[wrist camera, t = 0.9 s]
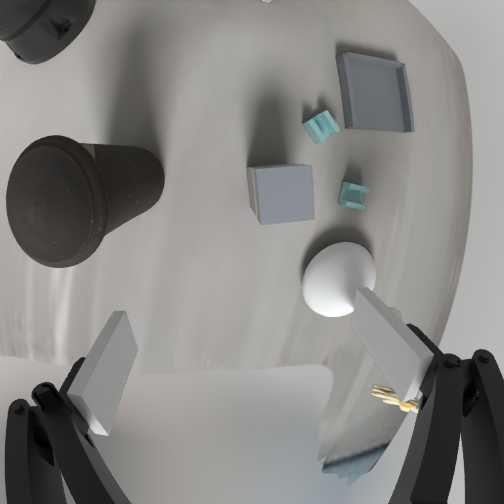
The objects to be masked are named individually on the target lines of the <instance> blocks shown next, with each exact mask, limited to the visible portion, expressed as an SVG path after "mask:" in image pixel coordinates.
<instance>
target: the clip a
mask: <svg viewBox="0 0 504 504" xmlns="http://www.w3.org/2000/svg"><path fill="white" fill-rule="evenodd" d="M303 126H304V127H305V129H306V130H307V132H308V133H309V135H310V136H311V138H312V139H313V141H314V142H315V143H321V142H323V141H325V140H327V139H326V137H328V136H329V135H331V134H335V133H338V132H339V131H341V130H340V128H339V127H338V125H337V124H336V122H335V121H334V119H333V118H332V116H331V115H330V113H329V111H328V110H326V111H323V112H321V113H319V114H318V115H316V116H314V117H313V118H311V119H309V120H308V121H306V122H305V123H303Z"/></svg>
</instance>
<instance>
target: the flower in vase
mask: <svg viewBox="0 0 504 504" xmlns="http://www.w3.org/2000/svg"><path fill="white" fill-rule="evenodd" d="M375 281H376V268H375V264H374V261H373V258H372V256H371V255H370V253H369V252H368V251H367V250H366V249H365V248H364V247H362V246H361V245H359V244H356V243H352V242H340V243H336V244H333V245H330V246H328V247H326V248H324V249H323V250H322V251H320V252H319V253H318V254H317V255H316V256H315V257H314V258H313V259H312V260H311V262H310V263H309V265H308V267H307V268H306V271H305V273H304V276H303V281H302V292H303V296H304V299H305V301H306V303H307V304H308V306H309V307H310V308H311V309H312V310H314V311H315V312H317V313H319V314H321V315H324V316H328V317H339V316H344V315H347V314H349V313H351V312H353V311H354V304H355V296H356V289H358V288H364V287H368V288H369V289H370V290H371V291H372V290H373V288H374V285H375ZM389 308H390V309H391V310H392V311H393V312H394V313H395V314H396V315H397V316H398V317H399V318H400V319H401V320H402V317H401V313H400V312H399V310H397V309H396V308H392V307H389ZM373 386H374V387H373V388H371V389H372V390H375V391H378V392H375V393H374V392H373V393H371V394H373V395H375V396H378V397H382V398H386V399H383V401H384V402H386V403H389V404H396V405H400V409H401V410H403V411H406V412H408V411H410V409H411V410H412V411H414V412H415V413H416V414H418V409H419V407H418V409H416V406H417V404H418V403H419V401H420V400H419V399H418V398H416V397H415V398H413V399H411V400H409V401H406V402H404V403H402V402H401V400H400V399H399V397H398V396H397V394H396V393H395V391H394V389H392V388H389V387H384V386H380V385H373Z"/></svg>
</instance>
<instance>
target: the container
mask: <svg viewBox="0 0 504 504" xmlns="http://www.w3.org/2000/svg"><path fill="white" fill-rule="evenodd" d="M163 188H164V173H163V169H162V167H161V164H160V163H159V161H158V160H157V158H156V157H155V156H154V155H153V154H152V153H150V152H149V151H147V150H145V149H142V148H138V147H132V146H119V145H103V144H86V143H78V142H76V141H75V140H73V139H70V138H68V137H64V136H59V135H53V136H47V137H43V138H41V139H38V140H36V141H35V142H33V143H32V144H30V145H29V146H28V147H27V148H26V149H25V150H24V151H23V152H22V153H21V155H20V156H19V158H18V159H17V161H16V163H15V164H14V166H13V169H12V171H11V174H10V177H9V181H8V186H7V193H6V209H7V216H8V221H9V224H10V227H11V230H12V233H13V235H14V237H15V239H16V241H17V243H18V244H19V246H20V247H21V248H22V250H23V251H24V252H25V253H26V254H27V255H28V256H29V257H31V258H32V259H33V260H35V261H36V262H38V263H40V264H42V265H45V266H48V267H53V268H65V267H71V266H74V265H77V264H79V263H81V262H83V261H84V260H86V259H87V258H88V257H90V256H91V255H92V254H93V253H94V252H95V251H96V249H97V248H98V247H99V245H100V244H101V242H102V240H103V238H104V236H105V235H106V234H108V233H109V232H111V231H113V230H114V229H116V228H118V227H119V226H121V225H122V224H124V223H126V222H127V221H129V220H131V219H132V218H134V217H136V216H138V215H140V214H141V213H143V212H145V211H147V210H148V209H150V208H151V207H152V206H153V205H155V204H156V202H157V201H158V200H159V198H160V196H161V194H162V192H163Z"/></svg>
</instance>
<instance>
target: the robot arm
mask: <svg viewBox="0 0 504 504" xmlns="http://www.w3.org/2000/svg"><path fill="white" fill-rule="evenodd" d="M93 8H94V0H0V40H2V41H4V42H6V44H7V45H8V47H9V48H10V49H11V50H12V51H13V52H14V54H15V56H16V57H17V58H18V59H19V60H21V61H23V62H26V63H28V64H39V63H42V62H45V61H47V60H49V59H51V58H52V57H54V56H56V55H57V54H58V53H60V52H61V51H62V50H63V49H65V48H66V47H67V46H68V45H69V44H70V43H71V42H72V41H73V40H74V39H75V38H76V37H77V36H78V34H79V33H80V32H81V31H82V29H83V28H84V26H85V25H86V23H87V22H88V20H89V18H90V16H91V14H92V11H93ZM351 328H352V330H353V331H354V333H355V334H356V336H357V337H358V338H359V340H360V341H361V343H362V344H363V345H364V347H365V348H366V350H367V351H368V353H369V354H370V356H371V357H372V358H373V360H374V361H375V363H376V364H377V366H378V367H379V369H380V370H381V372H382V373H383V375H384V376H385V378H386V379H387V381H388V382H389V383H390V385H391V386H392V388H393V389H394V391H395V393H396V394H397V396H398V397H399V399H400V400H401V402H402V403H404V402H406V401H409V400H411V399H413V398H415V397H416V395H417V393H418V391H419V389H420V391H421V392H422V393H423V395H422V397H421V399H420V401H419V403H418V404H417V406H416V409H418V407H419V409H418V414H417V418H416V423H415V427H414V431H413V435H412V438H411V442H410V446H409V449H408V452H407V455H406V458H405V462H404V465H403V467H402V470H401V473H400V476H399V479H398V482H397V484H396V487H395V489H394V491H393V494H392V496H391V499H390V501H389V503H388V504H447V499H448V496H449V492H450V488H451V484H452V480H453V475H454V471H455V465H456V460H457V454H458V447H459V439H460V432H461V440H462V447H463V459H464V472H465V504H504V380H503V377H502V374H501V372H500V370H499V367H498V365H497V363H496V360H495V358H494V356H493V355H492V354H491V353H490V352H489V351H487V350H483V349H479V350H476V351H475V352H474V354H473V357H472V359H465V360H461V359H460V358H459V357H457V356H456V355H453V354H443V353H442V352H441V351H440V350H439V348H438V347H437V346H436V345H435V344H434V343H433V342H432V341H431V340H430V339H428V337H427V336H426V335H424V333H423V332H422V331H421V330H420V329H419V328H418V327H416V326H414V325H412V324H405V323H404V322H403V321H402V320H401V319H400V318H399V317H398V316H397V315H396V314H395V313H394V312H393V311H392V310H391V309H390V308H389V307H388V306H387V305H386V304H385V303H384V302H383V301H382V300H380V299H379V298H378V297H377V296H376V295H375V294H374V293H373V292H372V291H371V290H370V289H369V288H368V287H364V288H358V289H356V296H355V304H354V311H353V319H352V325H351ZM137 351H138V347H137V344H136V341H135V338H134V335H133V332H132V329H131V326H130V323H129V320H128V317H127V313H126V311H114V312H113V314H112V315H111V317H110V318H109V320H108V322H107V323H106V325H105V326H104V328H103V330H102V331H101V333H100V335H99V336H98V338H97V340H96V341H95V343H94V345H93V346H92V348H91V350H90V352H89V353H88V355H87V357H86V358H85V357H81V358H80V359H79V360H78V361H77V362H75V363H74V365H73V367H72V369H71V372H69V374H68V377H67V378H66V379H65V381H64V383H63V385H62V386H61V388H60V390H59V392H58V391H57V389H56V388H55V386H54V385H53V384H52V383H50V382H44V383H41V384H39V385H37V386H36V387H35V388H34V389H33V391H32V396H31V397H32V399H33V400H34V401H35V403H36V404H37V406H32V407H31V406H30V405H29V404H28V402H27V401H26V400H24V399H17V400H15V401H14V402H12V403H11V405H10V406H9V410H8V417H7V427H6V440H5V485H6V496H7V497H6V498H7V504H67V502H66V498H65V494H64V489H63V483H62V478H61V473H62V475H63V477H64V480H65V482H66V484H67V486H68V488H69V490H70V493H71V494H72V496H73V499H74V501H75V502H76V504H131V502H130V501H129V500H128V498H127V497H126V496H125V494H124V493H123V491H122V490H121V488H120V487H119V485H118V484H117V482H116V481H115V479H114V478H113V476H112V474H111V473H110V471H109V470H108V468H107V466H106V464H105V463H104V461H103V459H102V457H101V456H100V454H99V452H98V450H97V448H96V447H95V445H94V443H93V441H92V439H91V437H90V435H89V434H88V433H87V431H88V428H89V426H90V427H91V429H92V430H93V432H94V433H96V434H101V435H107V436H109V434H110V431H111V427H112V424H113V420H114V417H115V414H116V411H117V408H118V405H119V402H120V399H121V396H122V393H123V390H124V387H125V384H126V381H127V378H128V376H129V373H130V370H131V367H132V365H133V362H134V359H135V356H136V354H137ZM478 392H479V393H478ZM60 470H61V472H60Z"/></svg>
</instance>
